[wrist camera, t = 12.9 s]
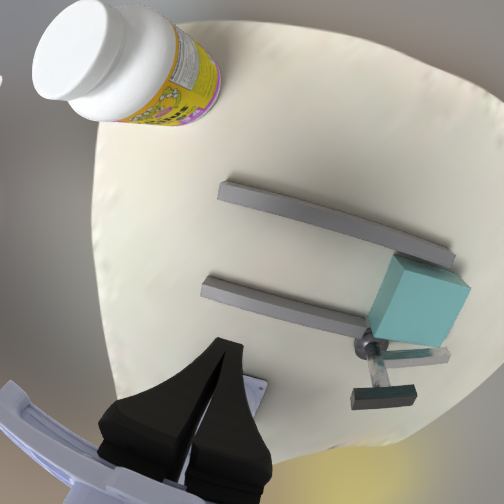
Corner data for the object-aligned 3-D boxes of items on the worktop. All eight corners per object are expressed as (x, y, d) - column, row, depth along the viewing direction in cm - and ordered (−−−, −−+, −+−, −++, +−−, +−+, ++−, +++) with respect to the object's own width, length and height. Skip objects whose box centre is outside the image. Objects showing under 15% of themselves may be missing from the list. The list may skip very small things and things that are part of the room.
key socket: (377, 356, 24) (378, 362, 23) (348, 351, 24) (349, 356, 24) (392, 331, 23) (394, 336, 22) (362, 324, 23) (364, 330, 22)
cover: (428, 327, 22) (439, 347, 19) (367, 315, 23) (373, 337, 20) (455, 272, 20) (471, 288, 17) (392, 253, 21) (404, 269, 18)
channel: (403, 338, 23) (407, 348, 22) (205, 287, 24) (200, 296, 23) (448, 248, 19) (455, 255, 18) (225, 180, 21) (220, 183, 19)
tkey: (344, 353, 23) (351, 410, 17) (347, 342, 23) (355, 399, 17) (439, 349, 22) (461, 397, 16) (443, 338, 21) (468, 386, 15)
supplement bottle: (142, 127, 20) (12, 131, 8) (151, 54, 18) (35, 9, 6) (219, 128, 19) (112, 112, 8) (229, 48, 17) (145, -40, 5)
